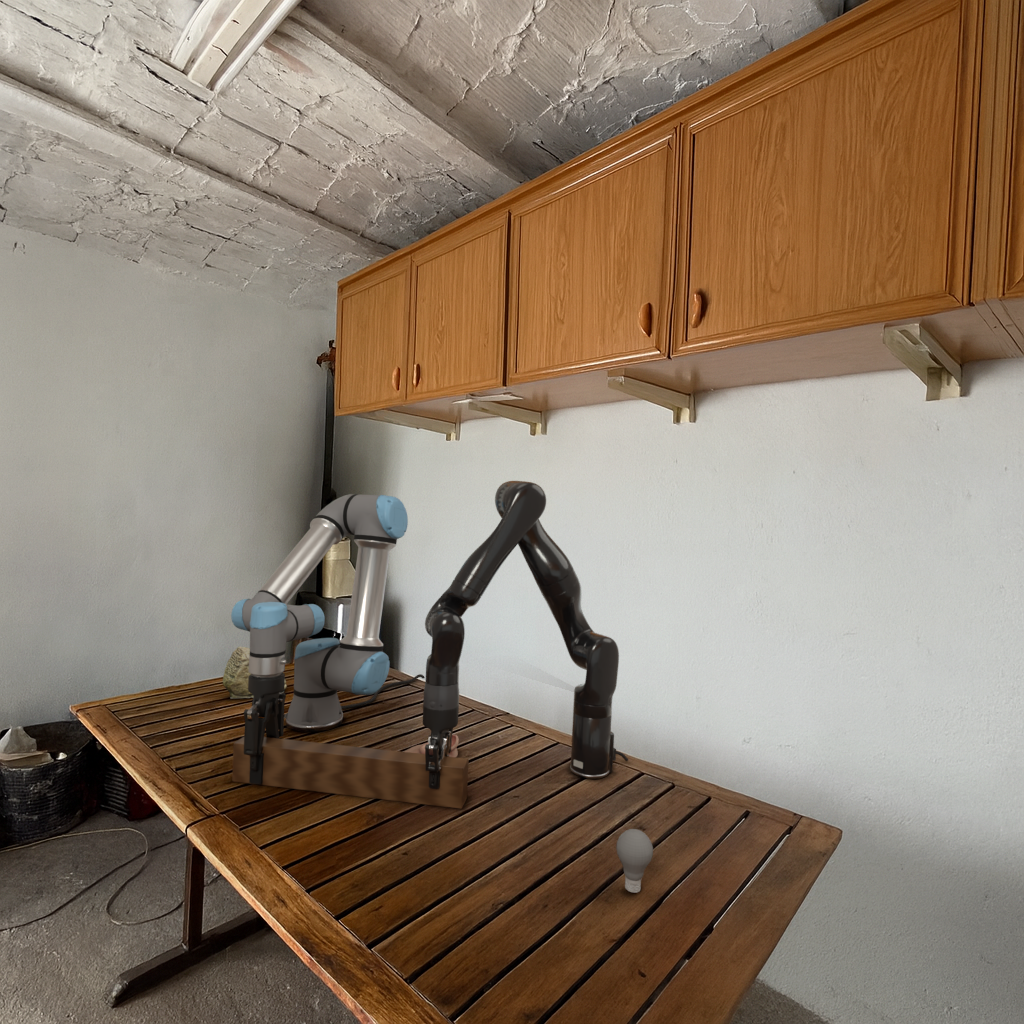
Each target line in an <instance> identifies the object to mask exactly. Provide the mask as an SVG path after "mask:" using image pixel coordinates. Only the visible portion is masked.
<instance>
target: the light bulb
mask: <svg viewBox="0 0 1024 1024" xmlns="http://www.w3.org/2000/svg"><path fill="white" fill-rule="evenodd" d="M615 849H616V854H617V857H618V859H619V861H620V863H621V865H622V867H623V873H624V874H623V875H624V876H625V878H624V888H625V890H627V891H628V892H630V893H634V894H635V893H639V892H640V891H641V889H642V887H641V886H642V879H643V877H644V875H645V871H646V868H647V867H648V866H649V864H650V863H651V861H652V859H653V855H654V847H653V843H652V841H651V838H649V836H648V835H647V834H646V833H645V832H643V831H642V830H641V829H636V828H629V829H627V830H625V831H623V832H622V833H621V834H620V835H619V837H618V839H617V841H616V847H615Z"/></svg>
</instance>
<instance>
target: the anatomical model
mask: <svg viewBox="0 0 1024 1024" xmlns="http://www.w3.org/2000/svg"><path fill="white" fill-rule="evenodd" d="M459 742H460V739H459V736H458V735H457V734H452V743H451V752H450V753H449V757H456V758H458V754H459V751H458V748H457V747H458V746H459ZM426 744H429V743H428V742H425V743H423V744H418V745H417V744H416V745H413V746H411V747H409V748H407V749H406V750H405V751H404V752H409V753H419V754H425V746H426Z"/></svg>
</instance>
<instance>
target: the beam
mask: <svg viewBox="0 0 1024 1024" xmlns="http://www.w3.org/2000/svg"><path fill="white" fill-rule="evenodd" d="M279 738H280V737H279ZM279 738H269V737H267V736H264V739H263V746H262V752H261V753H264V761H263V783H262V784H258V785H261V786H268V787H275V788H276V787H277V788H283V789H284V788H285V789H292V790H293V789H294V790H302V791H309V792H318V793H325V794H336V795H343V796H353V797H358V798H370V799H377V800H386V801H395V802H401V803H402V802H403V803H410V804H411V803H412V804H420V805H425V806H426V805H428V806H436V807H443V808H444V807H445V808H451V809H460V810H461V809H463V807H464V805H465V803H466V801H467V799H468V786H469V785H468V784H469V782H468V781H469V758H465V757H447V756H445V757H444V759H443V760H442V762H441V770H440V787H439V788H438V789H432V788H429V771H426V769H425V768H426V762H425V754H419V753H409V752H405V751H399V750H389V749H380V748H372V747H362V746H353V745H352V746H351V745H343V744H333V743H325V742H324V743H323V742H317V741H315V742H314V741H306V740H297V739H296V740H295V739H287V738H283V739H279ZM432 765H435V763H434V762H432ZM249 777H250V755H244V736H242V737H241V738H239V739H238V740H236V741H235V742H233V749H232V775H231V781H232V782H235V783H243V784H250V785H251V784H252V785H255V784H254V783H249Z"/></svg>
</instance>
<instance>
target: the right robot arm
mask: <svg viewBox="0 0 1024 1024" xmlns="http://www.w3.org/2000/svg"><path fill="white" fill-rule="evenodd" d="M494 504H495V509H496V511H497V513H498V515H499V516H500V518H501V519H500V521H499V523H498V524H497V525H496V527H495V528H494V529H493V531H492V532H491V534H490V535H489V536H488V537H487V538H486V539H485V540H484V541H483V542H482V543H481V544H480V545H479V546H478V547H477V548H476V549H475V550H474V551H473V552H472V553H471V554H470V555H469V556H468V558H467V559H466V560H465V561H464V563H463V564H462V566H461V567H460V569H459V570H458V572H457V574H456V575H455V577H454V579H453V580H452V582H451V584H450V585H449V587H448V588H447V589H446V590H445V591H444V592H443V593H442V594H441V596H440V597H439V598H438V599H437V600H436V601H435V603H433V605H432V606H431V607H430V609H429V611H428V612H427V614H426V616H425V620H424V628H425V631H426V633H427V635H429V636H430V637H431V641H432V642H431V652H430V654H429V655H428V656H427V659H426V664H425V684H424V689H423V699H422V700H423V704H422V725H423V726H424V727H425V728H426V729H429V730H430V734H429V735H428V739H427V743H429V744H426V746H425V762H426V768H425V769H426V771H429V788H432V789H438V788H439V787H440V770H441V762H442V760H443V759H444V757H445V756H447V757H449V753H450V752H451V743H452V735H453V730H454V728H456V727H457V726H458V725H459V713H460V712H459V708H460V683H459V680H460V659H461V656H462V652H463V648H464V642H465V638H466V637H465V635H466V630H465V629H466V628H465V622H464V620H463V618H462V617H463V616H464V614H465V613H466V611H468V609H469V608H472V607H475V606H476V605H477V604H478V603H479V601H480V600H481V599H482V597H483V595H484V594H485V592H486V590H487V589H488V587H489V586H490V584H491V582H492V581H493V579H494V577H495V576H496V574H497V573H498V571H499V569H500V568H501V567H502V565H503V564H504V562H505V561H506V560H507V558H508V557H509V556H510V555H511V554H512V552H513V551H514V549H515V548H516V547H517V546H518V547H519V549H520V551H521V554H522V556H523V558H524V560H525V563H526V564H527V566H528V569H529V570H530V572H531V575H532V577H533V579H534V581H535V583H536V585H537V588H538V589H539V592H540V593H541V595H542V597H543V599H544V601H545V603H546V604H547V607H548V608H549V610H550V612H551V614H552V617H553V618H554V620H555V622H556V625H557V626H558V628H559V630H560V633H561V636H562V639H563V641H564V644H565V647H566V649H567V650H566V651H567V652H568V655H569V657H570V659H571V661H572V662H573V663H574V665H576V666H577V667H578V668H580V669H582V670H585V672H586V673H585V681H584V683H580V684H579V683H578V684H577V685H576V686H574V689H573V705H572V707H573V708H572V727H571V728H572V730H571V747H570V749H571V750H570V763H569V764H570V765H569V770H570V772H571V773H572V774H573V775H575V776H577V777H580V778H583V779H590V780H593V779H594V780H596V779H603V778H606V777H608V775H609V774H612V773H613V771H614V769H613V768H614V762H615V761H616V760H617V756H620V757H622V759H623V760H624V761H625V762H628V761H629V758H628V757H627V756H626V755H625V754H624V753H623V752H621V751H617V749H616V748H615V747H614V746H615V733H614V732H613V731H612V716H613V715H612V714H613V713H612V712H613V697H614V694H615V692H616V689H617V683H618V674H619V664H620V652H619V647H618V644H617V642H616V641H615V639H613V638H612V637H610V636H608V635H604V634H602V633H599V632H595V631H594V630H593V628H592V627H591V626H590V624H589V623H588V621H587V618H586V616H585V614H584V611H583V610H582V586H581V581H580V580H579V577H578V574H577V573H576V571H575V569H574V566H573V564H572V563H571V560H570V559H569V558H568V556H567V555H566V554H565V552H564V551H563V550H562V548H561V547H560V546H559V545H558V543H556V542H555V540H553V538H552V537H551V536H550V535H549V534H548V532H547V531H546V529H545V527H544V526H543V525H542V522H541V521H540V518H541V517H542V516H543V514H544V513H545V510H546V507H547V495H546V493H545V490H544V489H543V488H542V487H541V485H539V484H537V483H535V482H533V481H532V482H531V481H523V480H507V481H505V482H503V483H501V484H500V485H499V487H498V488H497V490H496V492H495V496H494ZM432 762H434V763H435V765H432Z"/></svg>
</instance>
